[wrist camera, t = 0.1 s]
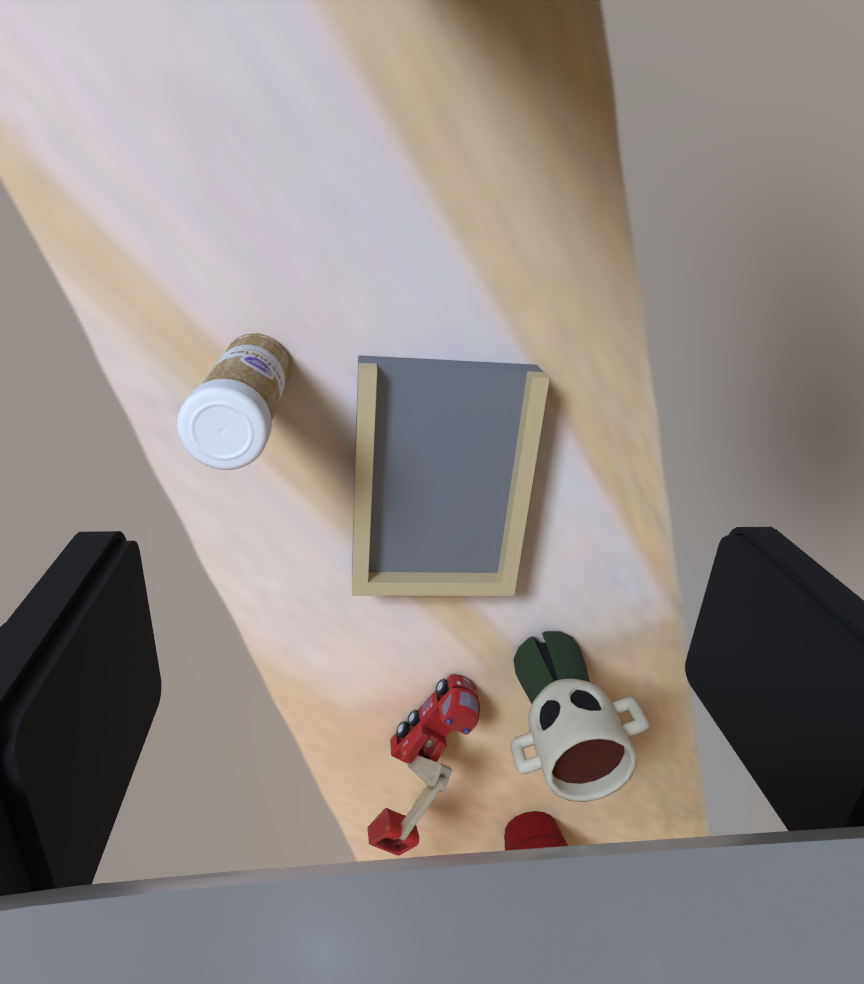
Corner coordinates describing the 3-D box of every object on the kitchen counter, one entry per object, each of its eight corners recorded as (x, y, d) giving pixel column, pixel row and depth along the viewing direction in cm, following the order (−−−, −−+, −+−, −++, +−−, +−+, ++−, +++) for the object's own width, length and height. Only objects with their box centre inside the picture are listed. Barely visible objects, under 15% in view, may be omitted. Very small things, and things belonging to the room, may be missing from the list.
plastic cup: (541, 778, 66) (578, 892, 56) (595, 825, 71) (638, 940, 60) (459, 829, 68) (479, 949, 58) (516, 872, 73) (545, 992, 62)
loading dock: (358, 355, 45) (358, 368, 42) (536, 364, 47) (549, 377, 44) (351, 571, 53) (351, 595, 50) (505, 572, 54) (514, 595, 51)
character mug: (591, 605, 57) (651, 713, 45) (609, 660, 60) (670, 775, 49) (477, 647, 58) (509, 764, 46) (501, 700, 61) (536, 822, 49)
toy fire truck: (479, 681, 60) (500, 766, 51) (392, 771, 64) (398, 863, 55) (452, 666, 59) (469, 750, 50) (365, 758, 62) (367, 851, 54)
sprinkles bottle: (297, 343, 44) (276, 404, 32) (281, 403, 46) (256, 482, 34) (230, 322, 43) (183, 377, 31) (217, 385, 45) (167, 459, 33)
